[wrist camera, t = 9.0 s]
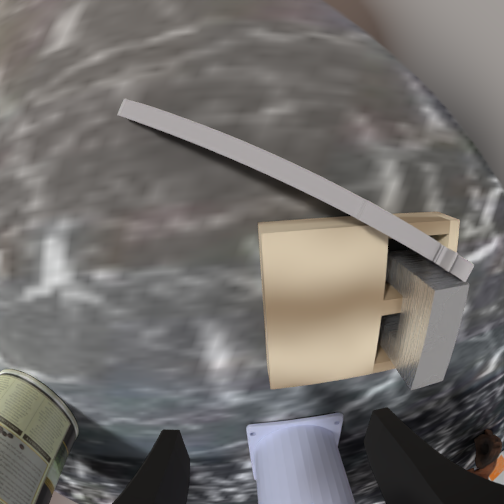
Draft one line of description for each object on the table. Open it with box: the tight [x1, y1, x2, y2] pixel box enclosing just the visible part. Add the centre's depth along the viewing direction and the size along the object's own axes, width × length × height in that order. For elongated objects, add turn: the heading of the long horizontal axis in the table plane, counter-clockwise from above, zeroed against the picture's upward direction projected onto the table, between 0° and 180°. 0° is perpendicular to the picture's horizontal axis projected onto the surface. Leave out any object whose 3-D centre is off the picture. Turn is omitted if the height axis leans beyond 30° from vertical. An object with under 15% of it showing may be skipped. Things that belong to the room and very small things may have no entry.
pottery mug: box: [467, 429, 502, 480], centre depth 26 cm, size 12×9×8 cm
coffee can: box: [0, 369, 78, 504], centre depth 15 cm, size 10×10×14 cm
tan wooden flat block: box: [258, 212, 460, 389], centre depth 18 cm, size 10×12×2 cm
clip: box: [378, 249, 469, 390], centre depth 17 cm, size 6×2×6 cm, turn 4°
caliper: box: [117, 99, 474, 282], centre depth 14 cm, size 20×1×6 cm, turn 66°
